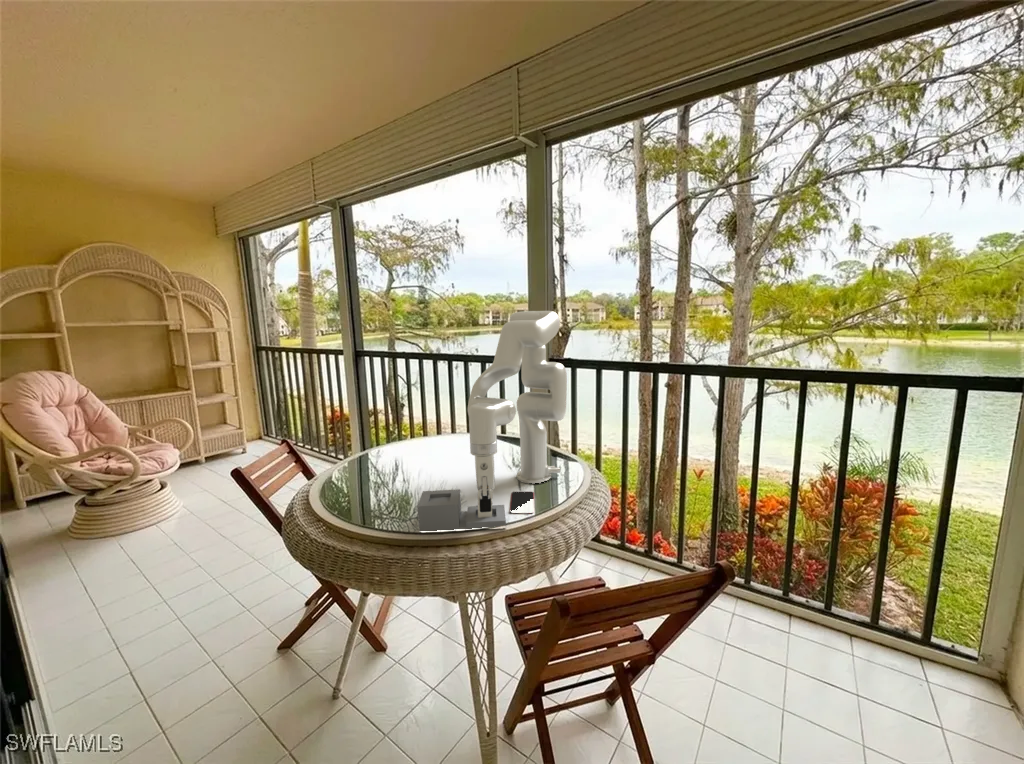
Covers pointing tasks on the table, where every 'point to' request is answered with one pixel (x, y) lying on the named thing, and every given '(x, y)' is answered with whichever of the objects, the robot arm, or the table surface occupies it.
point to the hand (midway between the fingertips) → (485, 507)
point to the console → (453, 512)
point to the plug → (480, 514)
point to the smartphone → (520, 499)
